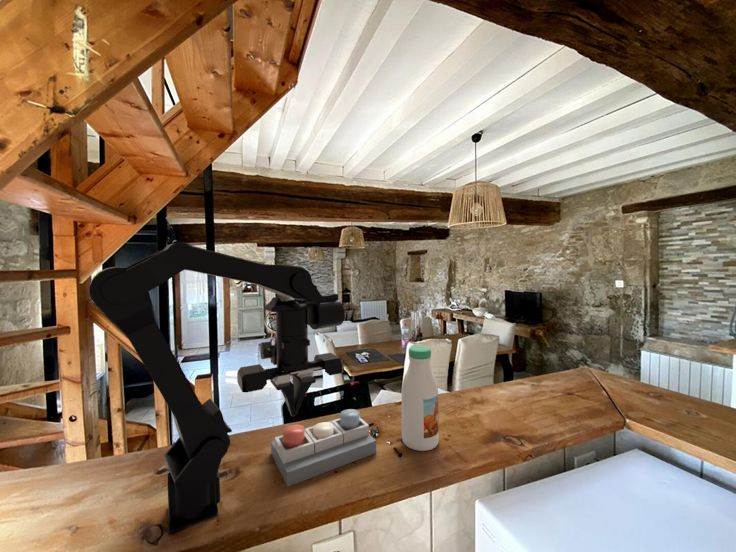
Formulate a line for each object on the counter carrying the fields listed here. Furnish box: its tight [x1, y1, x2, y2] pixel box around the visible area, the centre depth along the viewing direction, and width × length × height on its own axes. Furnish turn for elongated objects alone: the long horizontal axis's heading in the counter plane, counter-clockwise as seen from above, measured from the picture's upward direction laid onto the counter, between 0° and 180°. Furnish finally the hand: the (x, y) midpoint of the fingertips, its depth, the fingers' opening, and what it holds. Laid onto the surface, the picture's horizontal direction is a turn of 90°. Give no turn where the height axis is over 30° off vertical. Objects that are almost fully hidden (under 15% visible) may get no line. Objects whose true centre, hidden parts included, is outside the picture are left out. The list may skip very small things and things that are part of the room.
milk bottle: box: [401, 345, 440, 452], centre depth 66 cm, size 8×8×20 cm
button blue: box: [339, 408, 361, 430], centre depth 66 cm, size 4×4×2 cm
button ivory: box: [313, 421, 334, 440], centre depth 63 cm, size 4×4×2 cm
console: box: [270, 417, 377, 487], centre depth 63 cm, size 18×11×4 cm, turn 121°
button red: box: [282, 424, 305, 449], centre depth 60 cm, size 4×4×2 cm
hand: (293, 415), depth 60 cm, fingers closed
